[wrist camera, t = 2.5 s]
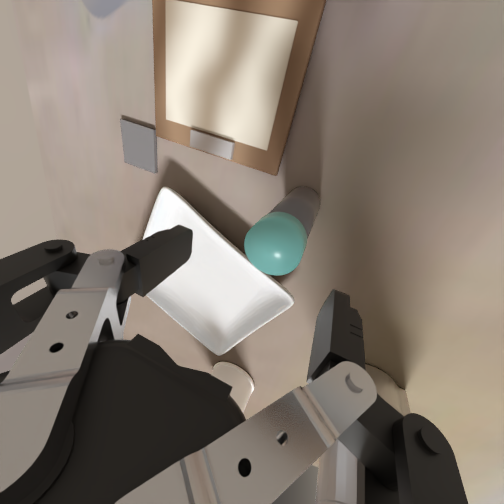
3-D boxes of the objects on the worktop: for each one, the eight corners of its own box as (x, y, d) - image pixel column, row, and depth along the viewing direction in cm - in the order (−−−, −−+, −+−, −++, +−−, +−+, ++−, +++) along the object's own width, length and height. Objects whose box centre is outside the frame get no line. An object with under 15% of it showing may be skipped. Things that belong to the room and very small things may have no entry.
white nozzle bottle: (227, 355, 41) (147, 500, 25) (263, 386, 41) (207, 551, 25) (204, 370, 47) (128, 494, 31) (236, 397, 47) (176, 535, 31)
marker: (327, 192, 21) (311, 235, 12) (313, 226, 23) (290, 284, 14) (291, 180, 22) (251, 212, 13) (280, 214, 24) (239, 261, 15)
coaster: (156, 130, 25) (153, 129, 25) (157, 173, 28) (155, 173, 27) (123, 119, 26) (120, 118, 26) (127, 161, 29) (124, 162, 28)
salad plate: (140, 270, 40) (125, 280, 37) (178, 177, 27) (159, 182, 24) (227, 344, 40) (217, 359, 37) (303, 285, 27) (298, 302, 25)
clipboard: (329, -12, 15) (328, -21, 14) (277, 174, 22) (274, 176, 21) (156, -35, 18) (146, -43, 17) (159, 135, 25) (152, 135, 24)
